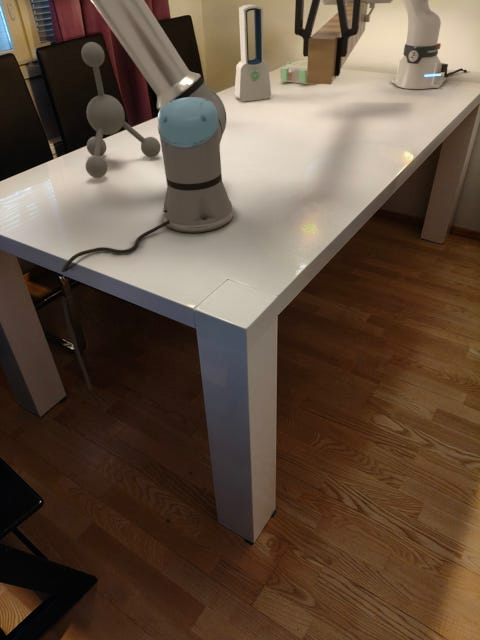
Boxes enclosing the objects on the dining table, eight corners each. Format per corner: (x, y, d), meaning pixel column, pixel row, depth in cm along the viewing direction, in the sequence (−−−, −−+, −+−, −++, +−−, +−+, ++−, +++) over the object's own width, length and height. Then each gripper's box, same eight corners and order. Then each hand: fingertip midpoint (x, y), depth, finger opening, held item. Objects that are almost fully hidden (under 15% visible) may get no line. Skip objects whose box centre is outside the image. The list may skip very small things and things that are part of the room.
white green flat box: (303, 54, 216) (344, 57, 207) (302, 70, 220) (342, 74, 211) (271, 65, 200) (314, 69, 191) (271, 82, 204) (314, 87, 195)
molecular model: (172, 168, 131) (155, 42, 113) (90, 184, 125) (57, 53, 107) (152, 143, 149) (134, 30, 130) (79, 156, 143) (49, 39, 124)
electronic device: (239, 102, 182) (235, 7, 164) (234, 97, 188) (230, 5, 170) (271, 98, 184) (270, 4, 166) (265, 93, 190) (264, 2, 172)
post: (331, 84, 96) (334, 38, 91) (306, 83, 97) (308, 38, 92) (364, 30, 149) (368, -1, 144) (348, 30, 150) (351, 0, 145)
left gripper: (386, -73, 87) (369, 71, 101) (287, -68, 91) (284, 69, 106) (383, -73, 81) (366, 79, 96) (278, -68, 86) (277, 77, 100)
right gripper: (399, -39, 135) (392, 19, 143) (325, -35, 140) (323, 21, 149) (398, -38, 130) (391, 22, 139) (322, -34, 135) (320, 24, 144)
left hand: (323, 74), depth 101 cm, fingers closed on post, 5 cm apart
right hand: (355, 22), depth 144 cm, fingers closed on post, 5 cm apart
